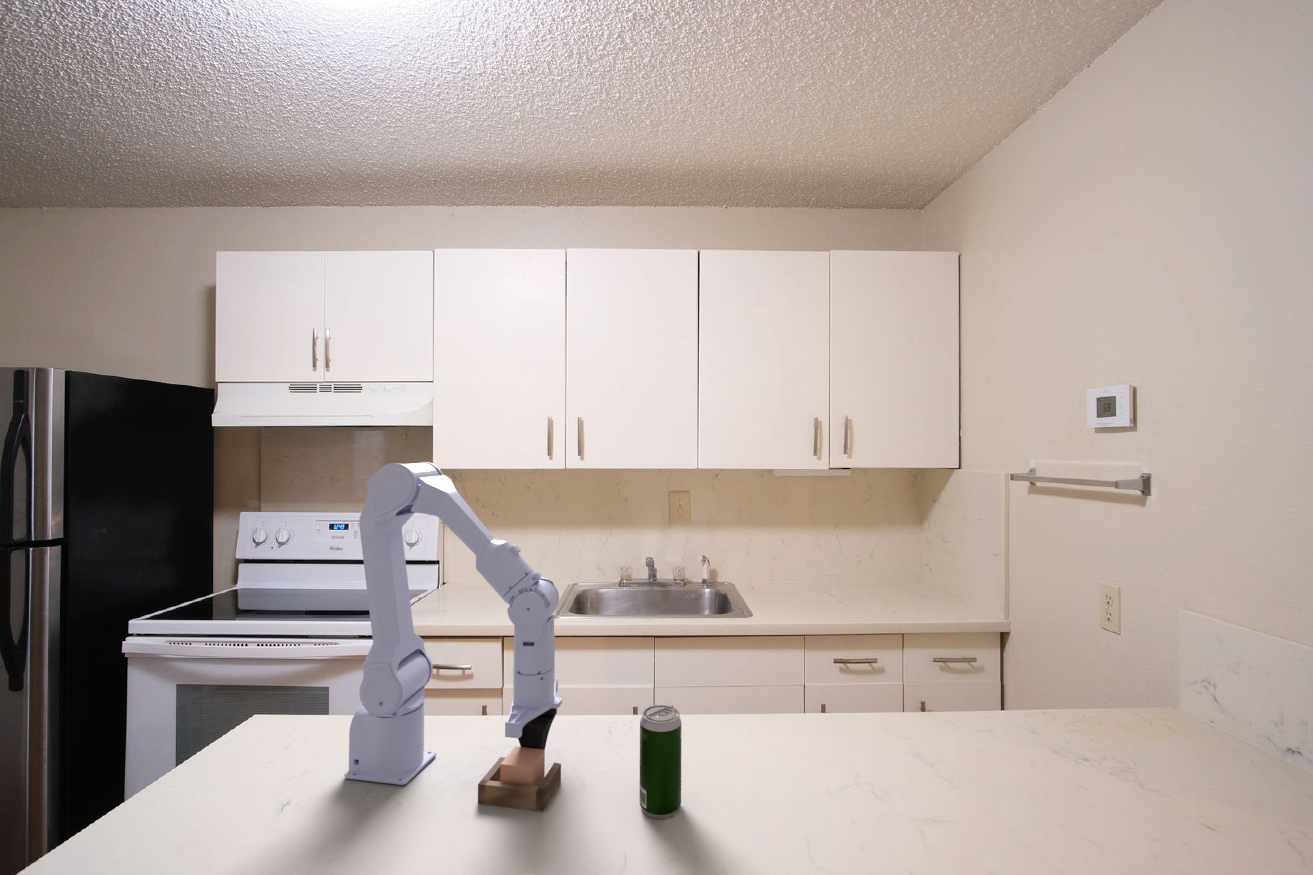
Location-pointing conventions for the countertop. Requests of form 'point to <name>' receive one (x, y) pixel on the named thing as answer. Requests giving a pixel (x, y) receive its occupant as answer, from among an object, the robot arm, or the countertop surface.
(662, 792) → the beer can
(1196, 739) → the countertop surface
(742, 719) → the countertop surface
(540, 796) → the walnut bay
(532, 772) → the terracotta block
